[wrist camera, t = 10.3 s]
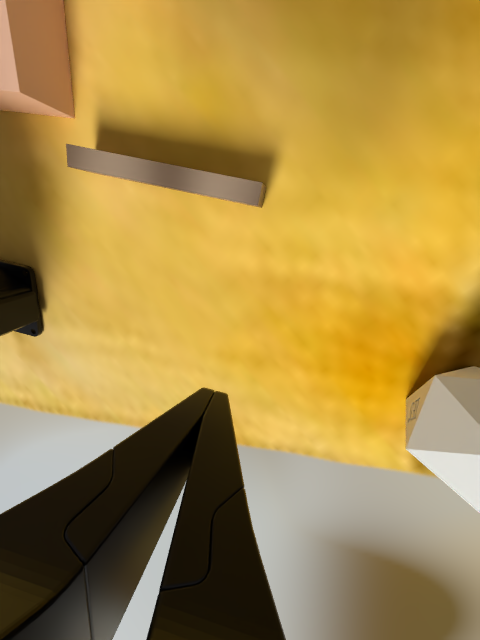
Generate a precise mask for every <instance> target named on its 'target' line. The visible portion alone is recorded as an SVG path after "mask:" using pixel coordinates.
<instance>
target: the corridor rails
mask: <svg viewBox="0 0 480 640" xmlns="http://www.w3.org/2000/svg"><path fill="white" fill-rule="evenodd" d="M66 148H67V163H68V167H71V168H76V169H80V170H84V171H88V172H92V173H97V174H102V175H107V176H111V177H116V178H121V179H126V180H131V181H136V182H140V183H145V184H150V185H155V186H160V187H165V188H169V189H174V190H179V191H184V192H189V193H194V194H198V195H203V196H208V197H213V198H218V199H223V200H228V201H232V202H237V203H242V204H247V205H252V206H257V207H261V208H262V205H263V200H264V195H265V190H266V187H265V186H264V184H263V183H262V182H256V181H251V180H246V179H241V178H236V177H231V176H226V175H221V174H216V173H211V172H206V171H201V170H196V169H191V168H186V167H181V166H176V165H171V164H166V163H161V162H156V161H151V160H145V159H140V158H135V157H130V156H125V155H120V154H115V153H110V152H105V151H100V150H95V149H90V148H85V147H80V146H75V145H70V144H66Z"/></svg>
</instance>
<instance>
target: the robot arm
mask: <svg viewBox="0 0 480 640" xmlns="http://www.w3.org/2000/svg"><path fill="white" fill-rule="evenodd" d="M27 273H28V274H27ZM12 331H16V332H20V333H23V334H27V335H31V336H38V335H40V334H41V333H42V327H41V319H40V311H39V304H38V296H37V288H36V280H35V273H34V271H33V269H32V268H31V267H28V266H24V265H20V264H16V263H12V262H8V261H4V260H0V336H2V335H5V334H7V333H9V332H12ZM186 480H187V481H186ZM185 482H186V485H185V489H184V493H183V497H182V502H181V506H180V509H179V513H178V518H177V522H176V526H175V529H174V533H173V537H172V542H171V545H170V549H169V553H168V557H167V561H166V565H165V569H164V574H163V577H162V582H161V586H160V591H159V595H158V598H157V601H156V605H155V609H154V613H153V617H152V621H151V624H150V628H149V632H148V636H147V639H146V640H286V638H285V635H284V632H283V629H282V626H281V622H280V619H279V616H278V612H277V609H276V606H275V602H274V599H273V596H272V592H271V589H270V586H269V583H268V580H267V576H266V573H265V570H264V566H263V563H262V560H261V556H260V552H259V549H258V545H257V542H256V538H255V534H254V530H253V527H252V522H251V518H250V513H249V508H248V503H247V498H246V493H245V489H244V482H243V476H242V472H241V466H240V460H239V454H238V449H237V443H236V438H235V432H234V427H233V421H232V415H231V410H230V404H229V399H228V395H227V394H226V393H223V392H219V391H216V392H214V390H211V389H208V388H201V389H199V390H198V391H196V392H195V393H193V394H192V395H190V396H189V397H188V398H186V399H185V400H183V401H182V402H180V403H179V404H177V405H176V406H174V407H173V408H171V409H170V410H168V411H167V412H165V413H164V414H162V415H161V416H159V417H158V418H156V419H155V420H153V421H152V422H150V423H149V424H147V425H146V426H144V427H143V428H141V429H140V430H138V431H137V432H135V433H134V434H132V435H131V436H129V437H128V438H126V439H125V440H123V441H122V442H120V443H119V444H117V445H116V446H115V447H114V448H113V449H110V450H108V451H107V452H105V453H104V454H102V455H101V456H100V457H98V458H96V459H95V460H93V461H92V462H90V463H88V464H87V465H85V466H84V467H83V468H81V469H79V470H77V471H76V472H74V473H72V474H71V475H69V476H67V477H66V478H64V479H62V480H61V481H59V482H57V483H55V484H54V485H52V486H50V487H48V488H47V489H45V490H43V491H41V492H40V493H38V494H36V495H34V496H32V497H30V498H29V499H27V500H25V501H23V502H21V503H20V504H18V505H16V506H14V507H13V508H11V509H9V510H7V511H5V512H4V513H2V514H0V640H112V639H113V637H114V635H115V632H116V630H117V628H118V626H119V624H120V622H121V619H122V617H123V615H124V613H125V611H126V609H127V607H128V605H129V603H130V600H131V598H132V596H133V594H134V592H135V590H136V587H137V585H138V583H139V581H140V579H141V577H142V575H143V572H144V570H145V568H146V566H147V564H148V562H149V560H150V557H151V555H152V553H153V551H154V549H155V547H156V544H157V542H158V540H159V538H160V536H161V534H162V531H163V530H164V527H165V525H166V523H167V521H168V519H169V517H170V514H171V512H172V510H173V508H174V506H175V504H176V502H177V499H178V497H179V495H180V493H181V491H182V489H183V486H184V484H185Z"/></svg>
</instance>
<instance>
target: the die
mask: <svg viewBox="0 0 480 640" xmlns="http://www.w3.org/2000/svg"><path fill="white" fill-rule="evenodd" d="M406 450H408V451H409V452H410V453H411V454H412V455H413V456H414V457H416V458H417V459H418V460H419V461H420V462H421V463H423V464H424V465H425V466H426V467H427V468H428V469H429V470H431V471H432V472H433V473H434V474H435V475H436V476H438V477H439V478H440V479H441V480H442V481H443V482H444V483H446V484H447V485H448V486H449V487H450V488H451V489H452V490H454V491H455V492H456V493H457V494H459V496H461V497H462V498H463V499H464V500H465V501H466V502H467V503H469V504H470V505H471V506H472V507H473V508H474V509H476V510H477V511H478V512H479V513H480V368H479V367H475V366H472V367H468V368H464V369H459V370H455V371H451V372H447V373H442V374H438V375H435V376H433V377H432V378H431V379H430V380H429V381H427V382H426V383H425V384H424V385H423V386H421V387H420V388H419V389H418V390H417V391H415V392H414V393H413V394H412V395H410V396H409V397H408V398H407V399H406Z"/></svg>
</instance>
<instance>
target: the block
mask: <svg viewBox="0 0 480 640" xmlns="http://www.w3.org/2000/svg"><path fill="white" fill-rule="evenodd" d="M0 110H4V111H13V112H22V113H31V114H40V115H49V116H58V117H67V118H75V115H74V104H73V94H72V84H71V73H70V63H69V52H68V42H67V32H66V21H65V11H64V0H0Z"/></svg>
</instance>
